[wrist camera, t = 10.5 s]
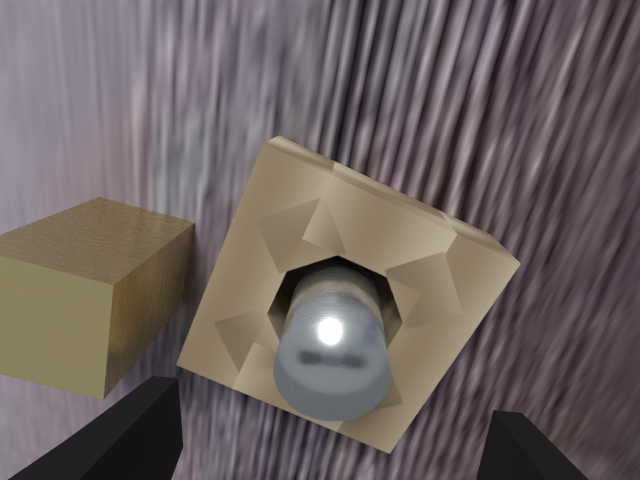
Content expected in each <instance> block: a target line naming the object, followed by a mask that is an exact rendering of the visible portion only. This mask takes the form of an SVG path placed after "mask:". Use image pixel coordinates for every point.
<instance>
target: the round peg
mask: <svg viewBox="0 0 640 480" xmlns="http://www.w3.org/2000/svg"><path fill="white" fill-rule="evenodd" d="M273 375H274V381H275V384H276V387H277V389H278V391H279V393H280V394H281V396H282V397H283V398H284V400H285V401H286V402H287V403H288V404H289V405H290V406H291V407H293V408H294V409H295V410H297V411H298V412H300V413H302V414H304V415H306V416H309V417H311V418H314V419H318V420H323V421H346V420H350V419H354V418H357V417H360V416H362V415H364V414H366V413H367V412H369V411H370V410H372V409H373V408H374V407H375V406H377V405H378V404H379V402H380V401H381V400H382V399H383V397H384V396H385V394H386V392H387V389H388V387H389V383H390V376H391V375H390V364H389V358H388V351H387V345H386V339H385V332H384V326H383V320H382V313H381V307H380V301H379V294H378V288H377V282H376V276H375V272H374V271H372V270H370V269H368V268H365V267H363V266H361V265H359V264H357V263H354V262H352V261H350V260H348V259H346V258H343V257H341V256H339V255H336V256H333V257H330V258H327V259H324V260H321V261H317V262H314V263H311V264H308V265H305V266H302V268H301V270H300V273H299V277H298V280H297V284H296V287H295V290H294V294H293V297H292V301H291V304H290V308H289V311H288V314H287V318H286V321H285V325H284V328H283V332H282V335H281V338H280V342H279V345H278V349H277V352H276V356H275V359H274V364H273Z"/></svg>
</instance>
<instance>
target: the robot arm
mask: <svg viewBox="0 0 640 480" xmlns="http://www.w3.org/2000/svg"><path fill="white" fill-rule="evenodd" d="M182 448H183V438H182V425H181V411H180V398H179V384H178V379H177V378H167V377H157V376H152V377H151V378H149V379H148V380H146V381H145V382H144V383H142V384H141V385H140V386H138V387H137V388H136V389H134V390H133V391H132V392H130V393H129V394H128V395H126V396H125V397H124V398H122V399H121V400H120V401H118V402H117V403H116V404H114V405H113V406H112V407H110V408H109V409H108V410H106V411H105V412H104V413H102V414H101V415H100V416H98V417H97V418H95V419H94V420H93V421H91V422H90V423H89V424H87V425H86V426H85V427H83V428H82V429H80V430H79V431H78V432H76V433H75V434H74V435H72V436H71V437H70V438H68V439H67V440H65V441H64V442H63V443H61V444H60V445H58V446H57V447H55V448H54V449H52V450H51V451H49V452H48V453H46V454H45V455H43V456H42V457H40V458H39V459H38V460H36V461H35V462H33V463H32V464H30V465H29V466H27V467H26V468H24V469H23V470H21V471H20V472H18V473H17V474H15V475H14V476H13V477H11V478H10V479H8V480H171V478H172V476H173V473H174V470H175V468H176V465H177V462H178V459H179V457H180V454H181V451H182ZM476 479H477V480H588V479H587V478H586V477H585V476H584V475H583V474H582V473H581V472H580V471H579V470H578V469H577V468H576V467H575V466H574V465H573V464H572V463H571V462H570V461H569V460H568V459H567V458H566V457H565V456H564V455H563V454H562V453H561V452H560V451H559V450H558V449H557V448H556V447H555V446H554V445H553V444H552V443H551V442H550V441H549V440H548V439H547V438H546V436H545V435H544V434H543V433H542V432H541V431H540V430H539V429H538V428H537V427H536V426H535V425H534V424H533V423H532V422H530V421H529V420H528V419H527V418H526V417H525V416H524V415H523V414H522V413H516V412H506V411H496V410H494V411H493V415H492V419H491V423H490V427H489V431H488V435H487V439H486V443H485V446H484V450H483V454H482V458H481V462H480V466H479V470H478V474H477V478H476Z"/></svg>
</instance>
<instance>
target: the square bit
mask: <svg viewBox="0 0 640 480" xmlns="http://www.w3.org/2000/svg"><path fill="white" fill-rule="evenodd" d="M194 223H195V222H191V221H188V220H184V219H180V218H176V217H173V216H169V215H165V214H161V213H157V212H154V211H150V210H146V209H142V208H139V207H135V206H131V205H127V204H124V203H120V202H116V201H112V200H108V199H105V198H101V197H99V198H96V199H93V200H91V201H88V202H86V203H83V204H80V205H78V206H75V207H72V208H70V209H67V210H65V211H62V212H59V213H57V214H54V215H51V216H49V217H46V218H44V219H41V220H38V221H36V222H33V223H30V224H28V225H25V226H23V227H20V228H17V229H15V230H12V231H9V232H7V233H4V234H2V235H0V374H3V375H7V376H11V377H14V378H18V379H22V380H26V381H30V382H34V383H38V384H42V385H46V386H49V387H53V388H57V389H61V390H65V391H69V392H73V393H77V394H81V395H84V396H88V397H92V398H96V399H100V400H104V399H105V398H106V397H107V395H108V394H109V393H110V392H111V391H112V389H113V388H114V387H115V386H116V384H117V383H118V382H119V381H120V380H121V378H122V377H123V376H124V375H125V374H126V372H127V371H128V370H129V369H130V368H131V366H132V365H133V364H134V363H135V361H136V360H137V359H138V358H139V357H140V355H141V354H142V353H143V352H144V351H145V349H146V348H147V347H148V346H149V345H150V343H151V342H152V341H153V340H154V338H155V337H156V336H157V335H158V334H159V332H160V331H161V330H162V329H163V328H164V326H165V325H166V324H167V323H168V322H169V320H170V319H171V318H172V317H173V316H174V314H175V313H176V312H177V311H178V309H179V308H180V307H181V306H182V300H183V294H184V287H185V281H186V274H187V268H188V261H189V255H190V248H191V242H192V236H193V229H194Z"/></svg>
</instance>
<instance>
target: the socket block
mask: <svg viewBox="0 0 640 480" xmlns="http://www.w3.org/2000/svg"><path fill="white" fill-rule="evenodd" d="M336 255H339V256H341V257H343V258H346V259H348V260H350V261H352V262H354V263H357V264H359V265H361V266H363V267H365V268H368V269H370V270H372V271H374V272H375V276H376V282H377V288H378V294H379V301H380V307H381V313H382V320H383V326H384V332H385V339H386V345H387V351H388V358H389V364H390V375H391V376H390V383H389V387H388V389H387V392H386V394H385V396H384V397H383V399H382V400H381V401H380V402H379V404H378V405H377V406H375V407H374V408H373V409H372V410H370V411H369V412H367V413H366V414H364V415H362V416H360V417H357V418H354V419H350V420H346V421H323V420H318V419H314V418H311V417H309V416H306V415H304V414H302V413H300V412H298V411H297V410H295V409H294V408H293V407H291V406H290V405H289V404H288V403H287V402H286V401H285V400H284V398H283V397H282V396H281V394H280V393H279V391H278V389H277V387H276V384H275V381H274V375H273V364H274V359H275V356H276V352H277V349H278V345H279V342H280V338H281V335H282V332H283V328H284V325H285V321H286V318H287V314H288V311H289V308H290V304H291V301H292V297H293V294H294V290H295V287H296V284H297V280H298V277H299V273H300V270H301V268H302V266H305V265H308V264H311V263H314V262H317V261H321V260H324V259H327V258H330V257H333V256H336ZM520 264H521V263H520V262H519V261H517V260H516V259H515V258H514V257H513V256H512V255H511V254H510V253H509V252H508V251H507V250H506V249H505V248H504V247H503V246H502V245H501V244H500V243H499V242H498V241H496V240H495V239H494V238H493V237H492V236H491V235H490V234H488V233H486V232H484V231H482V230H480V229H478V228H475V227H473V226H471V225H469V224H467V223H465V222H463V221H460V220H458V219H456V218H454V217H452V216H450V215H448V214H446V213H443V212H441V211H439V210H437V209H435V208H433V207H431V206H429V205H426V204H424V203H422V202H420V201H418V200H416V199H414V198H412V197H409V196H407V195H405V194H403V193H401V192H399V191H397V190H395V189H392V188H390V187H388V186H386V185H384V184H382V183H380V182H378V181H375V180H373V179H371V178H369V177H367V176H365V175H363V174H361V173H358V172H356V171H354V170H352V169H350V168H348V167H346V166H343V165H341V164H339V163H337V162H335V161H333V160H331V159H329V158H326V157H324V156H322V155H320V154H318V153H316V152H314V151H312V150H309V149H307V148H305V147H303V146H301V145H299V144H297V143H295V142H292V141H290V140H288V139H286V138H284V137H282V136H280V135H279V136H277V137H275V138H273V139H271V140H269V141H267V142H265V143H263V144H262V147H261V150H260V152H259V155H258V157H257V160H256V162H255V165H254V167H253V170H252V172H251V175H250V178H249V180H248V183H247V185H246V188H245V190H244V193H243V195H242V198H241V200H240V203H239V206H238V208H237V211H236V213H235V216H234V218H233V221H232V223H231V226H230V228H229V231H228V234H227V236H226V239H225V241H224V244H223V246H222V249H221V251H220V254H219V256H218V259H217V262H216V264H215V267H214V269H213V272H212V274H211V277H210V279H209V282H208V284H207V287H206V289H205V292H204V295H203V297H202V300H201V302H200V305H199V307H198V310H197V312H196V315H195V317H194V320H193V323H192V325H191V328H190V330H189V333H188V335H187V338H186V340H185V343H184V345H183V348H182V351H181V353H180V356H179V358H178V361H177V363H176V365H177V366H179V367H182V368H184V369H187V370H189V371H191V372H194V373H196V374H199V375H201V376H204V377H206V378H208V379H211V380H213V381H216V382H218V383H220V384H223V385H225V386H228V387H230V388H232V389H235V390H237V391H240V392H242V393H244V394H247V395H249V396H252V397H254V398H256V399H259V400H261V401H264V402H266V403H268V404H271V405H273V406H276V407H278V408H281V409H283V410H285V411H288V412H290V413H293V414H295V415H297V416H300V417H302V418H305V419H307V420H309V421H312V422H314V423H317V424H319V425H321V426H324V427H326V428H329V429H331V430H333V431H336V432H338V433H341V434H343V435H345V436H348V437H350V438H353V439H355V440H357V441H360V442H362V443H365V444H367V445H370V446H372V447H374V448H377V449H379V450H382V451H384V452H386V453H389V454H390V452H391V451H392V449H393V448H394V446H395V445H396V444H397V442H398V441H399V439H400V438H401V436H402V435H403V433H404V432H405V431H406V429H407V428H408V426H409V425H410V423H411V422H412V420H413V419H414V418H415V416H416V415H417V413H418V412H419V410H420V409H421V407H422V406H423V405H424V403H425V402H426V400H427V399H428V397H429V396H430V394H431V393H432V391H433V390H434V389H435V387H436V386H437V384H438V383H439V381H440V380H441V378H442V377H443V376H444V374H445V373H446V371H447V370H448V368H449V367H450V365H451V364H452V363H453V361H454V360H455V358H456V357H457V355H458V354H459V352H460V351H461V350H462V348H463V347H464V345H465V344H466V342H467V341H468V339H469V338H470V336H471V335H472V334H473V332H474V331H475V329H476V328H477V326H478V325H479V323H480V322H481V321H482V319H483V318H484V316H485V315H486V313H487V312H488V310H489V309H490V308H491V306H492V305H493V303H494V302H495V300H496V299H497V297H498V296H499V295H500V293H501V292H502V290H503V289H504V287H505V286H506V284H507V283H508V281H509V280H510V279H511V277H512V276H513V274H514V273H515V271H516V270H517V268H518V267H519V266H520Z"/></svg>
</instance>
